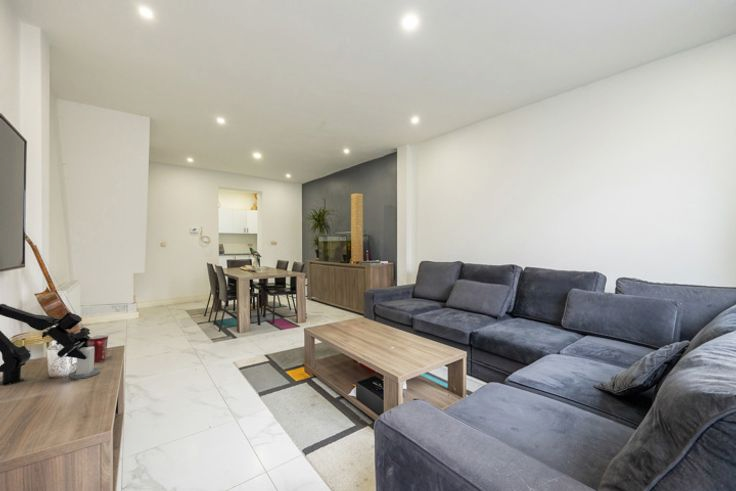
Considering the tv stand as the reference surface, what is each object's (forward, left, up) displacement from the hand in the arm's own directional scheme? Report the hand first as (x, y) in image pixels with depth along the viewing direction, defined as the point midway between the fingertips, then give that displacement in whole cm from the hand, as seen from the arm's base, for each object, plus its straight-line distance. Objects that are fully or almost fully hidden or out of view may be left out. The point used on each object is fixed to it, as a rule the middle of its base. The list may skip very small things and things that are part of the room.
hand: (89, 356), depth 155 cm
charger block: (-1, -1, -8) cm, 8 cm away
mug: (-18, +13, -9) cm, 24 cm away
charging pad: (-1, -1, -9) cm, 9 cm away
